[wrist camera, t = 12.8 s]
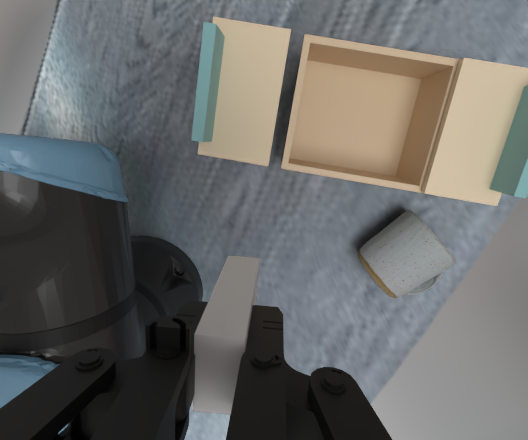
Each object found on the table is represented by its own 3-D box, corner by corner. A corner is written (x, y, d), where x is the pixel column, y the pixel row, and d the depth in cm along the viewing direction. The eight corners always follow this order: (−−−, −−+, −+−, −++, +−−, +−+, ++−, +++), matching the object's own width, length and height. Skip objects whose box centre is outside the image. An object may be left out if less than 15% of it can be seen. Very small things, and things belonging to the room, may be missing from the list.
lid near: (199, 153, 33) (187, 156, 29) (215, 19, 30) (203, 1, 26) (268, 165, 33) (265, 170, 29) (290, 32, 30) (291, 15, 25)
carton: (282, 161, 41) (281, 168, 33) (301, 54, 38) (304, 34, 30) (397, 181, 40) (423, 193, 33) (426, 75, 37) (462, 59, 30)
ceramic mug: (347, 245, 43) (361, 269, 35) (400, 202, 41) (426, 218, 34) (399, 301, 44) (423, 336, 37) (452, 262, 43) (488, 291, 35)
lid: (421, 192, 32) (440, 200, 28) (459, 59, 29) (487, 47, 25) (492, 204, 32) (522, 214, 28) (538, 72, 29) (579, 62, 25)
